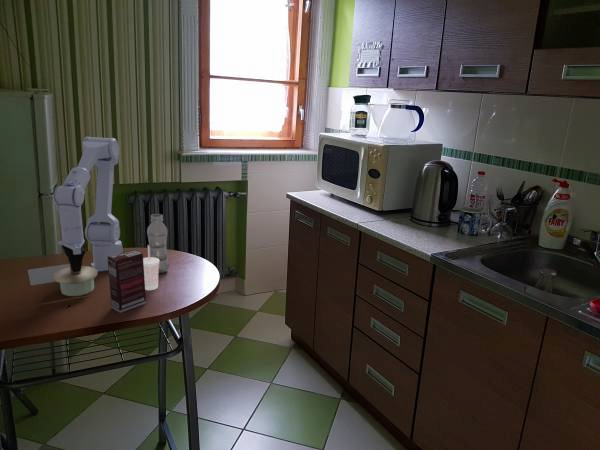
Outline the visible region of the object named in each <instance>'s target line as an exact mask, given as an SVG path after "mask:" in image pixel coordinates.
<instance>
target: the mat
mask: <svg viewBox="0 0 600 450" xmlns="http://www.w3.org/2000/svg"><path fill="white" fill-rule="evenodd" d="M68 267H70V263H66V264H61V265H60V264H59V265H58V264H57V265H52V266H44V267H40V268H31V269H27V275H28V279H29V285H30V287H33V286H38V285H44V284H45V285H46V284H52V283H57V282H56V281H55V280H54V277H53V275H54V273H55V272H57V271H59V270H61V269H64V268H68Z"/></svg>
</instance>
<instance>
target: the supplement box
mask: <svg viewBox="0 0 600 450" xmlns="http://www.w3.org/2000/svg"><path fill="white" fill-rule="evenodd" d="M143 258H144V254H143V252H141V251H139V250H137V249H132V250H128V251H123V253H119V254H115V255H111V256H108V257H107V259H108V270H107V271H108V279H109V290H110V291H109V293H110V300H111V301H110V304H111V309H112V310H114V311H116V312H117V313H119V314H121V313H124V312H126V311H129V310H132V309H134V308H137V307H139V306H143V305H146V304H147V298H146V297H147V294H146V290H145V279H144V264H143Z"/></svg>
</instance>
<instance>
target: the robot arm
mask: <svg viewBox="0 0 600 450" xmlns="http://www.w3.org/2000/svg"><path fill="white" fill-rule="evenodd" d="M81 147H82V155H81V158H80V160H79V162H78V164H77V167H76V166H75V167H73V168H71V170H70V171H69V173H68V175H67V176H66V178H65V180H64V182H63V183H62V185H59V186H57V187H56V188H55V189H54V191H53V197H52V199H53V203H54V204H55V206H56V211H57V212H58V215H59V221H60V222H59V223H60V233H61V240H59V241H57V245H58V246H61V248H62V249H63V251H64V253H65V256H67V260H68V264H70V265H71V268H72V271H73V272H78V271H81V267H82V266H83V259H84V256H85V254H86V252H87V250H86V248H83V247H84V244H85V240H87V241H89V244H90V245H92V247H91V248H92V257H93V262H91V263H90V265H91V267H93V268H95V269H97V273H98V272H104V271H109V270H108V259H107V257H108V256H111V255H115V254H119V253H123V252H124V249H123V244H122V241H121V240H119V239H120V236H121V228H120V221H119V219H118V218H116V216H114V215H113V214H112V205H113V203H112V202H113V190H114V189H113V187H114V172H115V171H114V170H115V166H116V165H117V164H119V157H120V145H119V142H118V141H117V139H116V138H114V137H111V138H109V137H95V136H94V137H92V136H85V137H84V139H83V141H82V144H81ZM95 165H96V166H97V174H96V175H97V179H96V194H95V195H96V196H95V208H94V209H95V210H94V214H92V215H91V216H90V217H89V218H87V221H86V222H87V223H86V226H85V230H84V227H83V218H82V217H83V216H82V205H83V203H84V200H85V195H86V191H85V190H86V188H87V186H88V183H89V182H90V180H91V174H90V172H91V170H92V169H93V168H94V166H95ZM84 235H85V238H84Z"/></svg>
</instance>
